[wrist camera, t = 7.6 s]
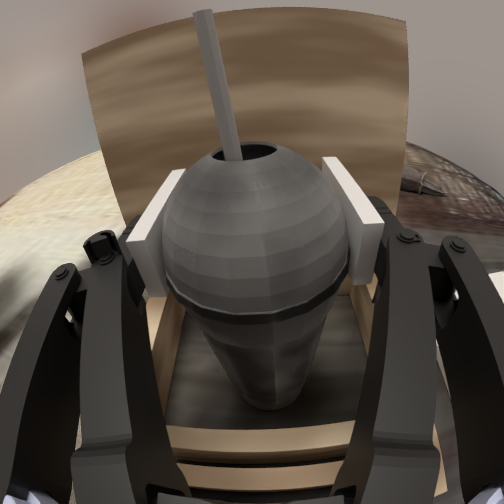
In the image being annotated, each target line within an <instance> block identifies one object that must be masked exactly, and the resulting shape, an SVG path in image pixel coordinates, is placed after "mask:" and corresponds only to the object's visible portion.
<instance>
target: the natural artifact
mask: <svg viewBox="0 0 504 504" xmlns="http://www.w3.org/2000/svg"><path fill="white" fill-rule="evenodd" d="M425 174H426V173H425V172H423V173H419V172H418V171H417V170H415V169H413V168H410V167H403V171H402V179H401V185H400V188H401V189H403V190H407V191H414V192H418V194H419V193H421V191H423V192H425V193H427V194H430V195H438V196H443V195H444V194H447V192H445V191H444V190H443V189H442V188H441V187H440V186H437V185H435V184H434V183H432V182H430V181H429V180H427V179H425V178H424V175H425Z"/></svg>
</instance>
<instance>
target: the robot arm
mask: <svg viewBox="0 0 504 504" xmlns="http://www.w3.org/2000/svg"><path fill="white" fill-rule="evenodd" d="M185 173H186V168H185V169H179V170H172V172H171V173H170V175H169V176H168V177H167V179H166V180H165V182H164V183H163V185H162V186H161V187H160V189H159V190H158V192H157V193H156V195H155V196H154V198H153V199H152V201H151V202H150V204H149V205H148V207H147V208H146V210H145V211H144V213H143V214H142V215H137V216H136V217H135V218H133V219H132V220H131V221H130V222H129V224H128V225H127V227H126V229H125V230H124V231H123V233H122V235H121V236H120V237H119V239H118V241H117V239H116V236H115V234H114V232H113V231H111V230H105V231H100V232H98V233H96V234H94V235H92V236H91V237H90V238H88V239H87V240H86V241H85V243H84V245H83V247H84V250H85V252H86V254H87V256H88V258H89V260H90V262H91V264H92V265H91V268H88V269H85V270H82V271H79V272H78V270H77V268H76V266H75V265H74V264H73V263H67V264H63V265H61V266H59V267H58V268H57V269H56V270H55V271H54V272H53V273H52V274H51V276H50V278H49V279H48V281H47V283H46V285H45V287H44V289H43V291H42V292H41V294H40V296H39V298H38V300H37V302H36V304H35V306H34V308H33V311H32V313H31V315H30V317H29V319H28V321H27V324H26V326H25V328H24V330H23V333H22V335H21V337H20V340H19V342H18V345H17V347H16V350H15V352H14V355H13V358H12V361H11V363H10V366H9V369H8V372H7V375H6V378H5V381H4V384H3V388H2V391H1V394H0V504H69V500H70V495H71V490H72V480H73V487H74V492H75V498H76V503H77V504H233V503H229V502H226V501H221V500H210V499H200V498H192V495H191V492H190V489H189V486H188V483H187V481H186V478H185V476H184V474H183V472H182V471H181V469H180V468H179V467H178V465H177V463H176V461H175V458H174V455H173V451H172V448H171V444H170V440H169V436H168V432H167V428H166V424H165V420H164V415H163V411H162V406H161V401H160V396H159V391H158V386H157V381H156V375H155V369H154V363H153V357H152V350H151V343H150V336H149V328H148V320H147V310H146V303H145V300H144V298H143V296H142V294H143V291H144V289H145V288H146V290H147V292H148V294H149V296H150V297H167V296H168V292H169V289H170V288H169V287H168V285H167V283H166V270H165V263H164V257H163V245H162V226H163V217H164V213H165V210H166V206H167V203H168V201H169V199H170V197H171V195H172V193H173V191H174V189H175V187H176V186H177V184H178V182H179V181H180V179H181V178H182V177H183V175H184V174H185ZM322 173H323V174H324V175H325V176H326V178H327V179H328V181H329V182H330V184H331V186H332V188H333V189H334V191H335V193H336V195H337V197H338V199H339V201H340V203H341V205H342V208H343V211H344V214H345V217H346V223H347V230H348V240H347V241H348V244H349V248H350V262H349V271H348V272H349V275H350V278H351V281H352V284H353V285H363V284H371V283H372V279H373V275H374V273H375V275H376V277H377V279H378V282H377V285H376V289H375V293H374V296H373V299H372V303H374V312H373V321H372V330H371V338H370V345H369V352H368V359H367V365H366V371H365V376H364V382H363V387H362V392H361V397H360V402H359V406H358V411H357V415H356V419H355V424H354V428H353V431H352V435H351V439H350V443H349V446H348V450H347V453H346V456H345V459H344V462H343V464H342V466H341V468H340V469H339V472H338V474H337V476H336V479H335V481H334V484H333V487H332V490H331V493H330V495H329V497H321V498H313V499H304V500H293V501H289V502H286V503H282V504H432V502H433V499H434V495H435V490H436V486H437V481H438V476H439V471H440V462H441V456H440V452H439V450H438V449H437V448H436V447H435V446H434V445H433V428H434V419H435V406H436V386H437V350H436V340H437V344H438V347H439V351H440V355H441V358H442V362H443V366H444V370H445V375H446V379H447V383H448V388H449V393H450V398H451V403H452V409H453V415H454V422H455V429H456V437H457V446H458V457H459V471H460V482H461V488H462V494H463V498H464V502H465V504H504V303H503V301H502V299H501V297H500V295H499V293H498V291H497V289H496V287H495V286H494V284H493V282H492V280H491V278H490V277H489V275H488V273H487V272H486V270H485V268H484V267H483V265H482V263H481V262H480V260H479V258H478V257H477V255H476V254H475V252H474V251H473V249H472V248H471V246H470V245H469V244H468V243H467V242H466V241H464V240H463V239H462V238H459V237H457V236H446V237H444V238H443V241H442V244H441V246H437V245H432V244H426V243H424V241H423V239H422V237H421V236H420V235H419V234H418V233H417V232H415V231H413V230H412V229H408V228H404V227H403V226H402V225H401V223H400V222H399V221H398V219H397V218H396V217H395V215H394V214H392V211H391V210H390V209H389V207H388V206H387V205H386V203H385V202H384V201H383V200H381V199H380V198H378V197H376V196H366V195H365V194H364V192H363V191H362V190H361V188H360V187H359V186H358V184H357V183H356V182H355V180H354V179H353V178H352V176H351V175H350V174H349V173H348V171H347V170H346V169H345V167H344V166H343V165H342V164H341V162H340V161H339V160H338V159H337V157H322ZM456 291H457V293H458V299H457V298H456V295H455V292H456ZM67 310H68V312H69V313H70V315H71V316H72V320H71V322H69V321H68V320H67V318H66V317H65V315H66V312H67ZM79 417H81V432H82V445H81V447H80V448H79V449H77V450H75V446H76V438H77V430H78V424H79Z"/></svg>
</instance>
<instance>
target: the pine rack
mask: <svg viewBox="0 0 504 504" xmlns="http://www.w3.org/2000/svg"><path fill="white" fill-rule="evenodd" d="M213 17H214V22H215V26H216V31H217V36H218V41H219V45H220V50H221V55H222V60H223V65H224V69H225V74H226V79H227V84H228V89H229V94H230V99H231V103H232V108H233V113H234V118H235V123H236V128H237V133H238V138H239V142H248V141H262V142H269V143H273V144H277V145H280V146H284V147H287V148H289V149H291V150H293V151H295V152H297V153H299V154H300V155H302V156H303V157H305V158H307V159H308V160H309V161H310V162H312V163H313V164H314V165H315V166H316V167H318V168H319V169H320V171H321V172H322V157H337V159H338V160H339V161H340V162H341V164H342V165H343V166H344V167H345V169H346V170H347V171H348V173H349V174H350V175H351V176H352V178H353V179H354V180H355V182H356V183H357V184H358V186H359V187H360V188H361V190H362V191H363V192H364V194H365V195H366V196H376V197H378V198H380V199H381V200H383V201H384V202H385V203H386V205H387V206H388V207H389V209H390V210H391V211H392V214H394V215H396V209H397V204H398V198H399V192H400V185H401V179H402V171H403V163H404V155H405V145H406V133H407V118H408V94H409V93H408V92H409V70H408V68H409V67H408V43H407V29H406V21H403V20H399V19H394V18H390V17H385V16H379V15H374V14H369V13H362V12H355V11H348V10H337V9H327V8H310V7H274V8H273V7H271V8H255V9H242V10H233V11H226V12H218V13H213ZM82 61H83V67H84V74H85V79H86V85H87V90H88V95H89V100H90V104H91V109H92V113H93V118H94V122H95V126H96V131H97V134H98V138H99V142H100V146H101V150H102V153H103V157H104V160H105V164H106V167H107V170H108V174H109V177H110V180H111V183H112V186H113V189H114V192H115V196H116V198H117V201H118V204H119V207H120V210H121V213H122V216H123V219H124V221H125V224H126V227H127V225H128V224H129V222H130V221H131V220H132V219H133V218H135V217H136V216H137V215H142V214H143V213H144V211H145V210H146V208H147V207H148V205H149V204H150V202H151V201H152V199H153V198H154V196H155V195H156V193H157V192H158V190H159V189H160V187H161V186H162V185H163V183H164V182H165V180H166V179H167V177H168V176H169V175H170V173H171V172H172V170H179V169H185V168H186V172H187V170H188V169H189V168H190V167H191V166H193V165H194V164H195V163H196V162H197V161H198V160H200V159H201V158H202V157H204V156H205V155H207V154H209V153H210V152H212V151H214V150H216V149H218V148H221V147H222V143H221V139H220V134H219V130H218V126H217V121H216V117H215V112H214V108H213V103H212V99H211V94H210V90H209V85H208V81H207V76H206V72H205V67H204V63H203V58H202V54H201V49H200V45H199V40H198V36H197V31H196V27H195V22H194V17H190V18H185V19H181V20H177V21H172V22H169V23H164V24H161V25H157V26H154V27H150V28H147V29H144V30H140V31H137V32H134V33H131V34H128V35H126V36H123V37H120V38H117V39H115V40H112V41H110V42H107V43H105V44H102V45H100V46H98V47H95V48H93V49H91V50H88V51H86V52H84V53H82ZM377 282H378V279H377V277H376V275H375V273H374V275H373V279H372V283H371V284H363V285H353V284H352V281H351V278H350V275H349V272H348V274H347V276H346V277H345V279H344V281H343V282H342V284H341V286H340V289H339V292H338V294H337V295H346V294H350V298H351V301H352V304H353V308H354V311H355V314H356V318H357V321H358V325H359V328H360V332H361V335H362V339H363V342H364V346H365V350H366V353H367V357H368V352H369V345H370V338H371V330H372V321H373V312H374V303H372V299H373V296H374V293H375V289H376V285H377ZM146 310H147V320H148V328H149V336H150V343H151V350H152V357H153V363H154V369H155V375H156V381H157V386H158V391H159V396H160V401H161V406H162V411H163V415H164V420H165V414H166V408H167V402H168V396H169V391H170V385H171V380H172V374H173V369H174V364H175V359H176V354H177V349H178V344H179V339H180V335H181V330H182V325H183V321H184V316H185V312H186V309H185V307H184V306H183V305H182V304H181V303H179V302H178V301H177V299H176V298H175V296H174V295H173V293H172V291H171V290H170V289H169V292H168V296H167V297H150V296H149V299H148V302H147V305H146ZM433 445H434V446H435V447H436V448H437V449H438V450H439V452H440V456H441V451H440V446H439V441H438V437H437V432H436V428H435V424H434V428H433ZM446 491H447V485H446V478H445V472H444V466H443V461H442V456H441V462H440V471H439V476H438V481H437V486H436V490H435V495H434V497H435V496H437V495H439V494H442V493H444V492H446Z"/></svg>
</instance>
